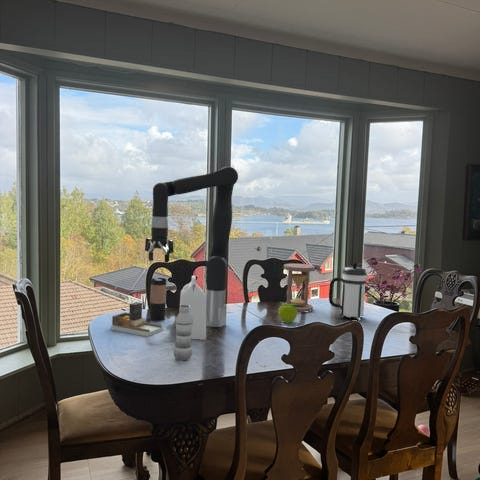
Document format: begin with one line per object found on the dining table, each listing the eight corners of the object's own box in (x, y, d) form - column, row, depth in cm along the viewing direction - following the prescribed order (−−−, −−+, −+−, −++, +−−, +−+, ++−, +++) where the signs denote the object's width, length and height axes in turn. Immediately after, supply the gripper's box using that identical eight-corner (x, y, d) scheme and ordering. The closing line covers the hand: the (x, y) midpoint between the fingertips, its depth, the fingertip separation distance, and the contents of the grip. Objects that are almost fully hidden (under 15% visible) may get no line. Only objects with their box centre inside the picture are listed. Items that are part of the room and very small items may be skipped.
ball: (126, 313, 213) (125, 321, 213) (120, 315, 209) (119, 323, 210) (133, 316, 211) (132, 324, 212) (127, 318, 207) (126, 326, 208)
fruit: (279, 319, 238) (280, 300, 237) (297, 320, 236) (298, 301, 235) (276, 323, 229) (277, 303, 228) (295, 325, 227) (296, 305, 227)
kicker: (144, 324, 210) (145, 302, 210) (134, 328, 204) (135, 305, 203) (135, 322, 212) (136, 301, 212) (125, 326, 206) (126, 304, 205)
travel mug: (162, 321, 223) (163, 280, 221) (147, 320, 224) (148, 279, 223) (167, 318, 230) (168, 278, 229) (153, 316, 232) (154, 277, 230)
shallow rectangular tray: (163, 330, 209) (163, 324, 209) (147, 336, 198) (147, 330, 198) (127, 323, 218) (127, 318, 217) (110, 329, 207) (110, 323, 207)
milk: (206, 339, 198) (208, 279, 196) (178, 339, 196) (180, 278, 194) (203, 331, 210) (205, 274, 208) (178, 331, 208) (179, 274, 206)
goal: (134, 322, 214) (134, 314, 214) (122, 326, 206) (122, 317, 206) (124, 320, 216) (124, 312, 216) (112, 324, 208) (112, 316, 208)
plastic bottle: (174, 356, 175) (175, 304, 173) (192, 356, 176) (193, 304, 174) (173, 362, 169) (174, 308, 167) (191, 362, 169) (193, 308, 168)
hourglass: (302, 305, 274) (304, 263, 272) (318, 311, 258) (321, 267, 256) (276, 306, 267) (278, 263, 265) (291, 313, 251) (293, 268, 249)
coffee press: (354, 313, 258) (358, 260, 255) (371, 321, 243) (375, 264, 240) (327, 314, 252) (330, 260, 250) (342, 322, 237) (346, 264, 235)
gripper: (177, 227, 213) (176, 262, 215) (151, 225, 219) (150, 259, 221) (168, 227, 207) (167, 263, 208) (142, 225, 213) (141, 260, 214)
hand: (158, 261), depth 214 cm, fingers open, 8 cm apart
